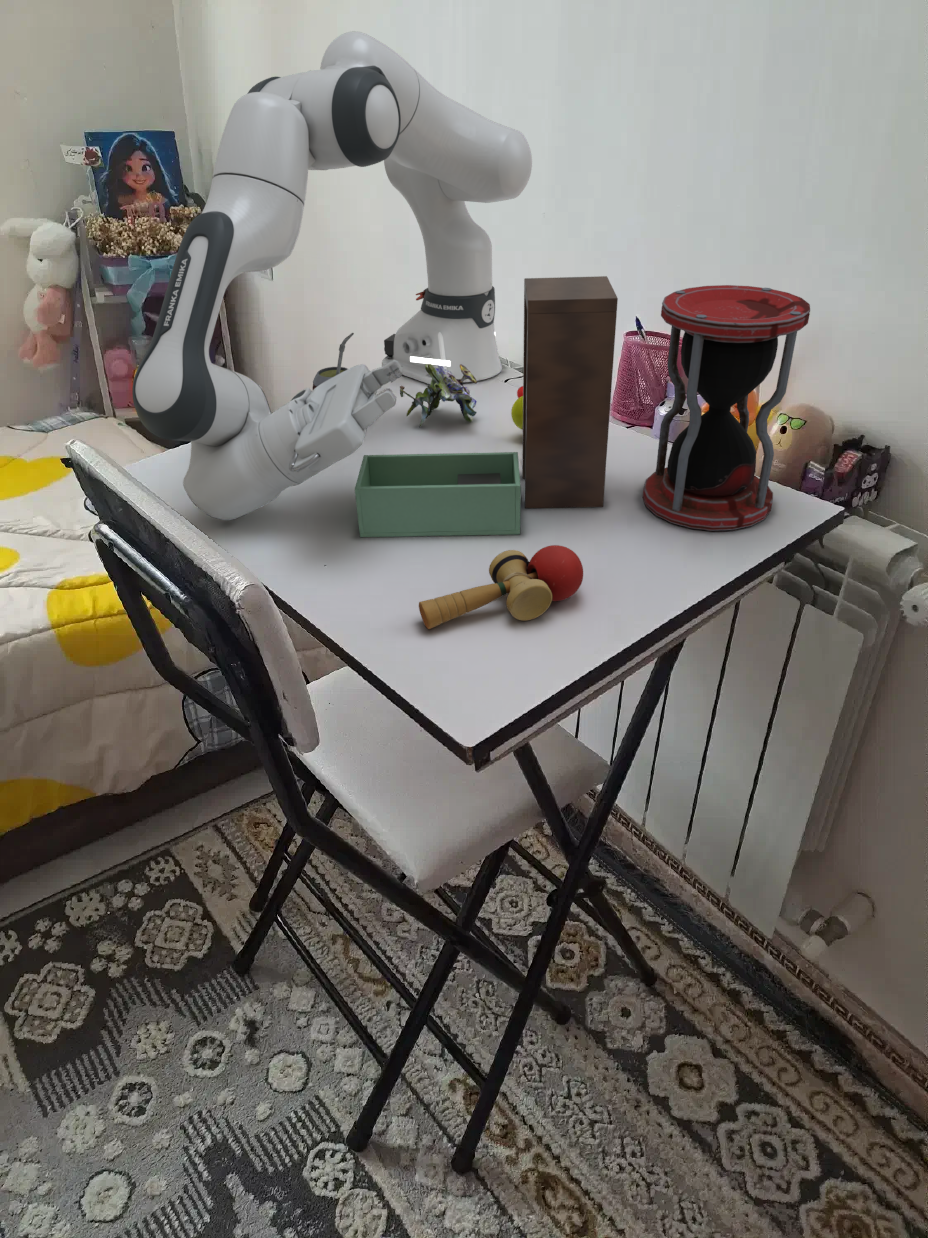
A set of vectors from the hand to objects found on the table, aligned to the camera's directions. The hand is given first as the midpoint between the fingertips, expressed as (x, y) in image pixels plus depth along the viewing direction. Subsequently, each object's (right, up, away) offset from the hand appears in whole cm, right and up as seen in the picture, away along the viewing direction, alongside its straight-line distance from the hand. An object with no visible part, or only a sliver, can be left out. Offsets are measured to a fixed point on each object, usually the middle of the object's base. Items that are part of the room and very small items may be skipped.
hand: (396, 380), depth 99 cm
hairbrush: (+5, -14, +9) cm, 18 cm away
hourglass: (+39, -13, +11) cm, 43 cm away
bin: (+5, -15, +10) cm, 18 cm away
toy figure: (+18, -1, +30) cm, 35 cm away
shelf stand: (+21, -10, +15) cm, 28 cm away
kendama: (+12, -27, -8) cm, 30 cm away
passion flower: (+4, +3, +36) cm, 36 cm away
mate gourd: (-12, +4, +37) cm, 39 cm away
